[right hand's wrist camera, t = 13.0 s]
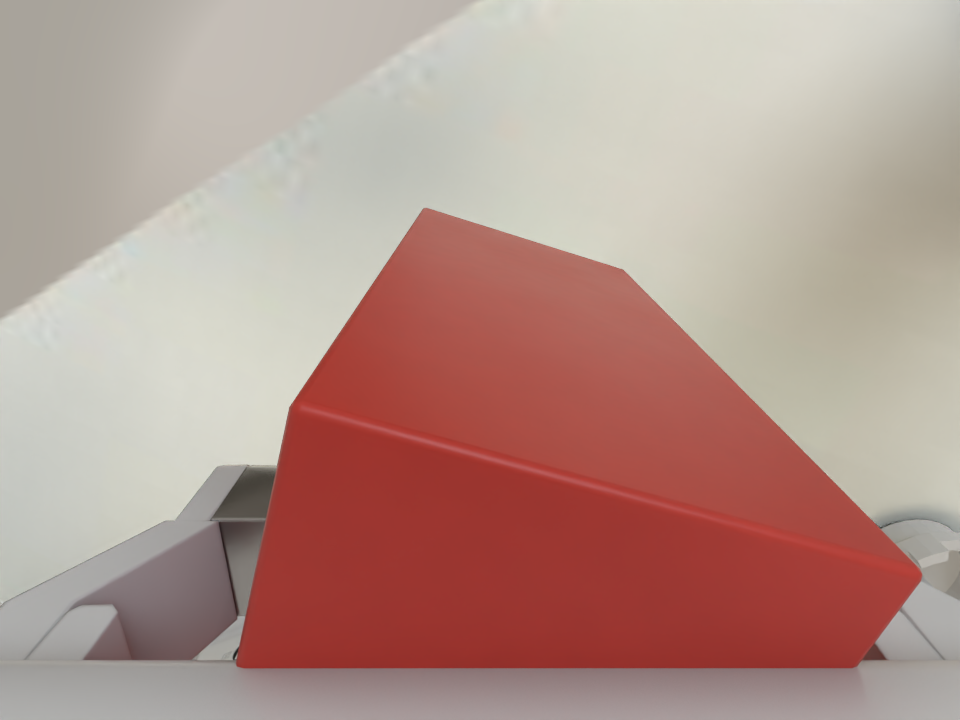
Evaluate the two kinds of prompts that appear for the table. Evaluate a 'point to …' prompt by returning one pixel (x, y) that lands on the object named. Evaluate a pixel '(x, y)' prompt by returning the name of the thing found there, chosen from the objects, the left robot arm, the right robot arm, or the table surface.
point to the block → (548, 488)
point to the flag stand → (930, 551)
